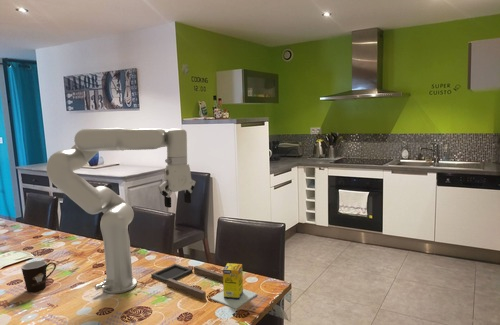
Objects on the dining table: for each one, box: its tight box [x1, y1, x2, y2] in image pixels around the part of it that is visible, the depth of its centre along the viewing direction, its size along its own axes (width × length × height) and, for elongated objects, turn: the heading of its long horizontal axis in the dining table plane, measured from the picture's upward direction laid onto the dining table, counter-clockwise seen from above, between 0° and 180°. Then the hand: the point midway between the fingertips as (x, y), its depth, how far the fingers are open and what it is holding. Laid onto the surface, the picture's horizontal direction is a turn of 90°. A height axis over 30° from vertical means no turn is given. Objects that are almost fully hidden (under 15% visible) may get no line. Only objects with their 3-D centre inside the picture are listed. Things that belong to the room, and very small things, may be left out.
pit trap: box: [151, 263, 193, 284], centre depth 151 cm, size 13×11×1 cm
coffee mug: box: [20, 260, 57, 294], centre depth 142 cm, size 12×9×10 cm
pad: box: [210, 288, 258, 310], centre depth 129 cm, size 12×12×1 cm
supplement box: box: [222, 262, 244, 300], centre depth 129 cm, size 6×6×11 cm
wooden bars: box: [166, 265, 223, 301], centre depth 140 cm, size 16×20×2 cm
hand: (178, 204), depth 139 cm, fingers open, 9 cm apart
